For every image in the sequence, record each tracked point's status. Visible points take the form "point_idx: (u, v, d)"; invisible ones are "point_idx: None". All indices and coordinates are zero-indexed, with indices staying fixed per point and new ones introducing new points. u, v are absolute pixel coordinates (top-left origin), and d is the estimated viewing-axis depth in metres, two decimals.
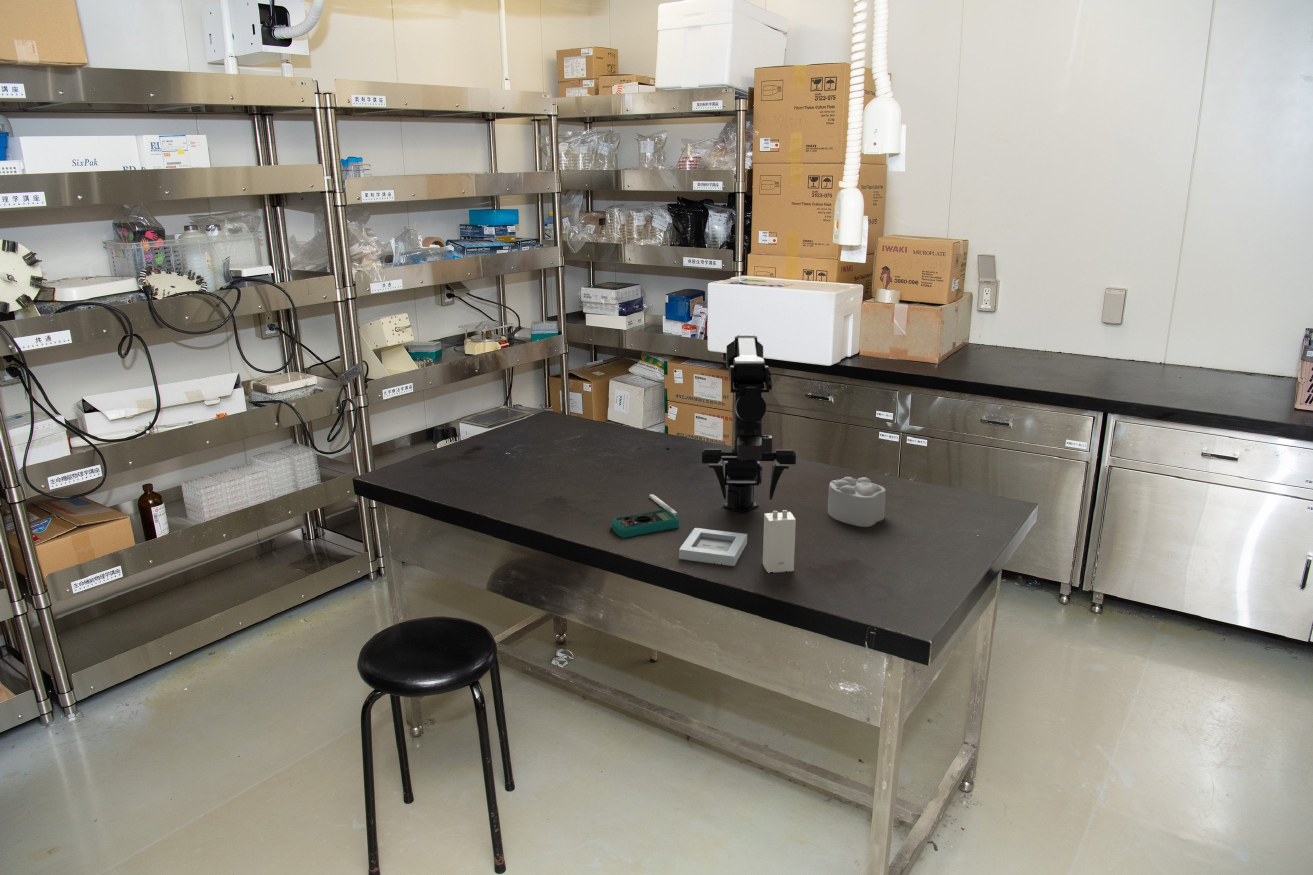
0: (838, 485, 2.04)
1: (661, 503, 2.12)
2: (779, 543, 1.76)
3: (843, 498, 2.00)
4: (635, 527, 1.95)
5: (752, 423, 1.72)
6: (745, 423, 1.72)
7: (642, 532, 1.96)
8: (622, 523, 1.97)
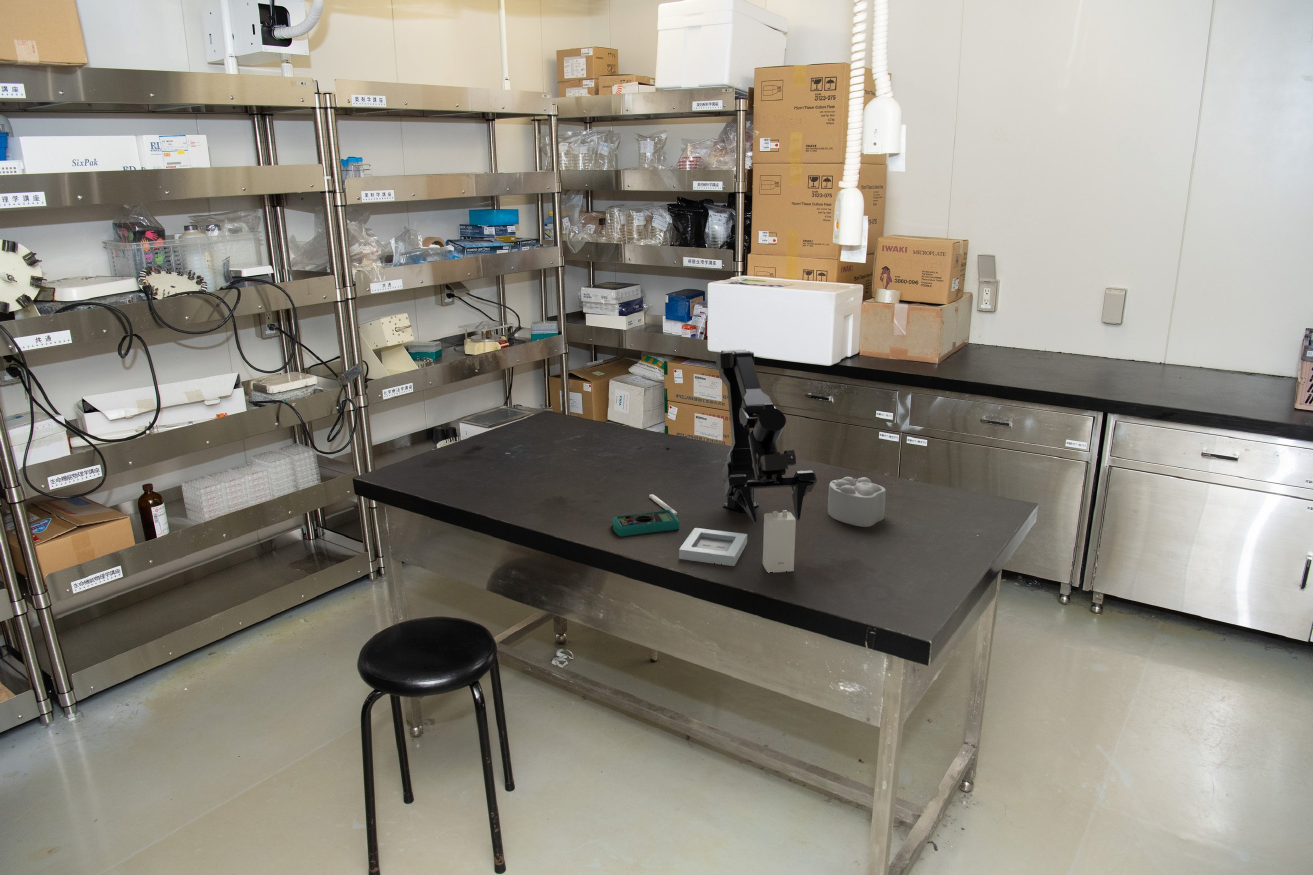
0: (838, 485, 2.04)
1: (661, 503, 2.12)
2: (779, 543, 1.76)
3: (843, 498, 2.00)
4: (632, 526, 1.96)
5: (770, 448, 1.83)
6: (764, 449, 1.83)
7: (640, 532, 1.96)
8: (621, 522, 1.98)
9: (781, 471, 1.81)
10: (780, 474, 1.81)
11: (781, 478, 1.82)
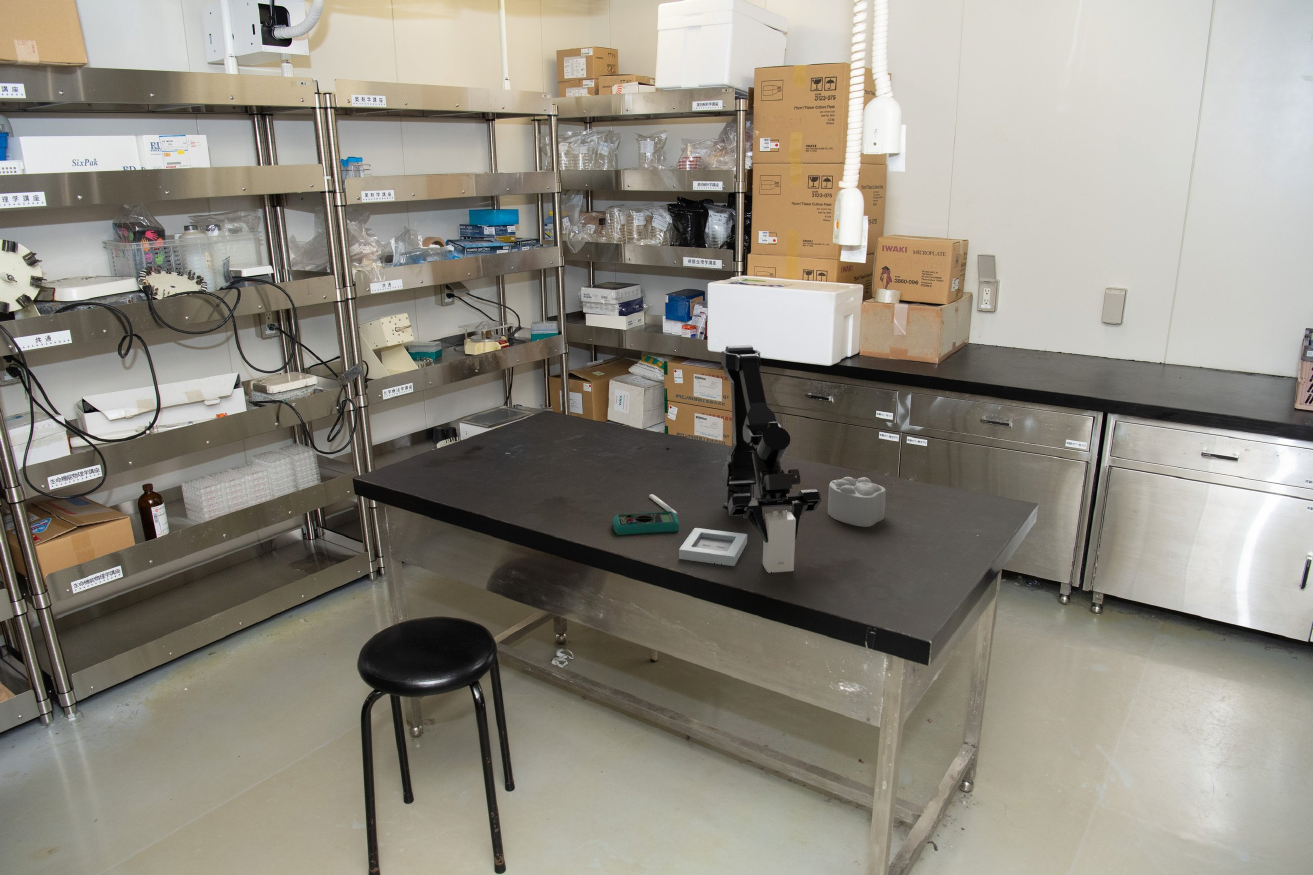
0: (838, 485, 2.04)
1: (661, 503, 2.12)
2: (779, 543, 1.75)
3: (843, 498, 2.00)
4: (630, 525, 1.96)
5: (774, 467, 1.81)
6: (768, 467, 1.81)
7: (638, 531, 1.96)
8: (620, 521, 1.99)
9: (785, 490, 1.78)
10: (784, 493, 1.79)
11: (785, 497, 1.80)
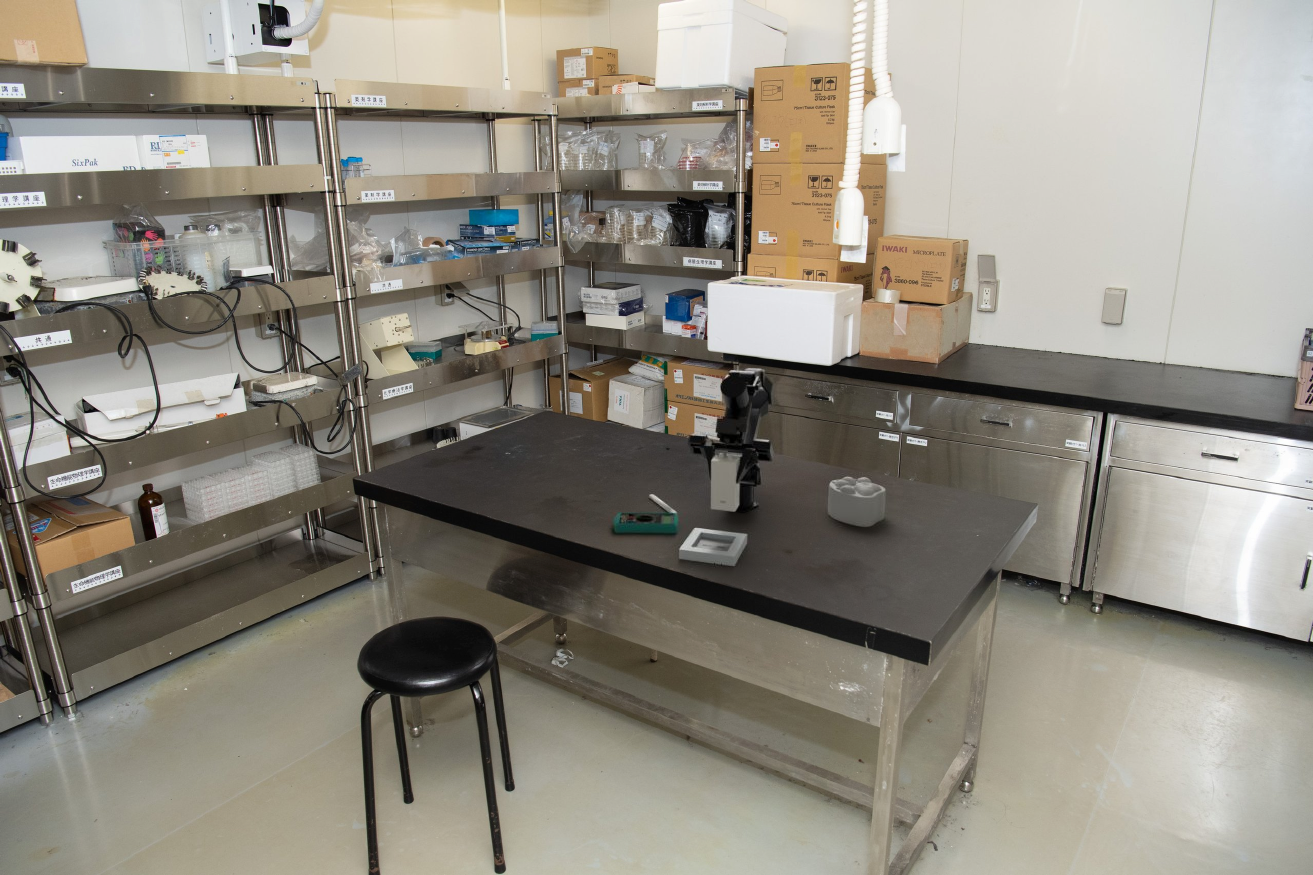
0: (838, 485, 2.04)
1: (661, 503, 2.12)
2: (721, 482, 1.90)
3: (843, 498, 2.00)
4: (628, 524, 1.97)
5: (736, 414, 1.94)
6: (731, 414, 1.95)
7: (636, 531, 1.97)
8: (621, 519, 2.00)
9: (738, 436, 1.91)
10: (738, 439, 1.92)
11: (741, 444, 1.93)
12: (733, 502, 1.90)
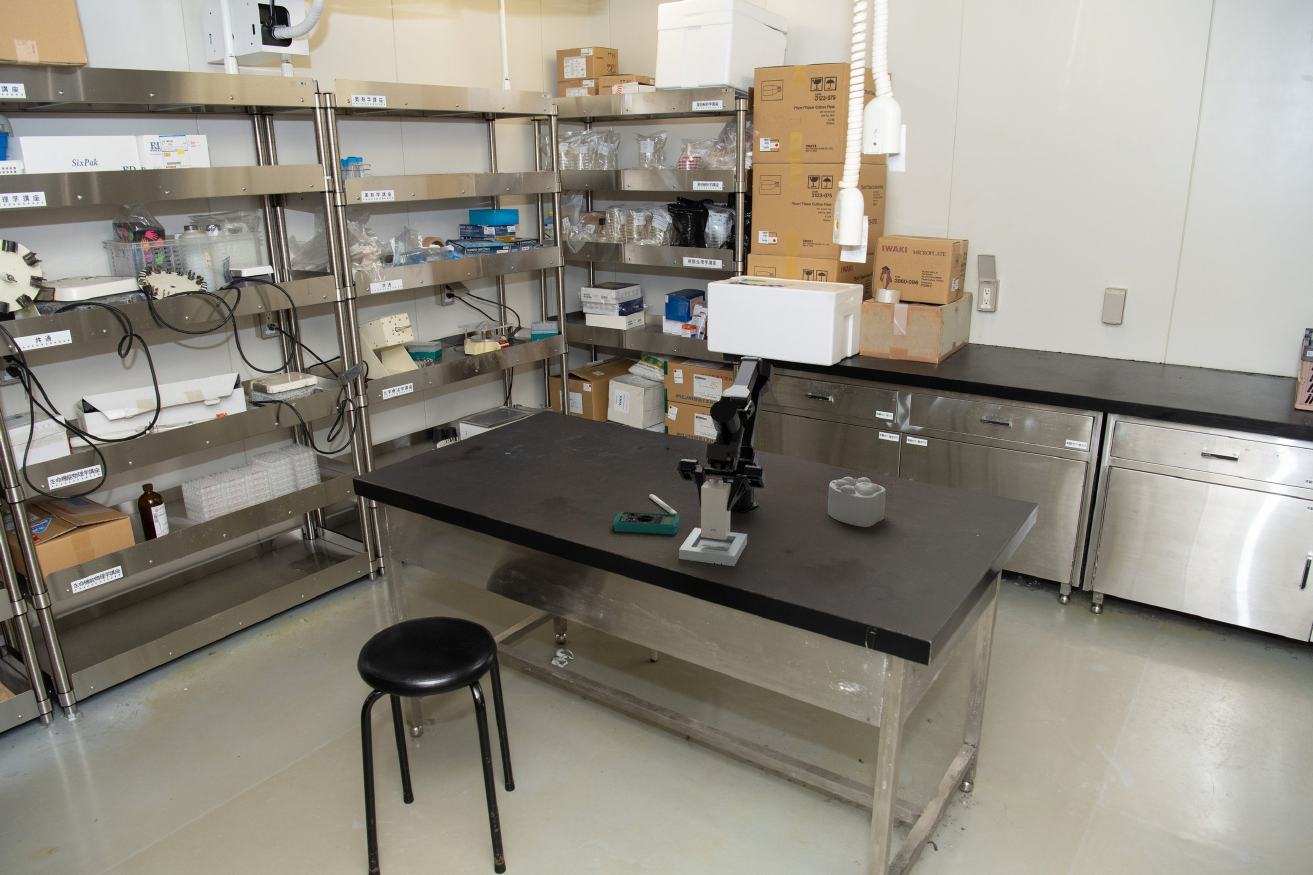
0: (838, 485, 2.04)
1: (661, 503, 2.12)
2: (711, 510, 1.84)
3: (843, 498, 2.00)
4: (627, 523, 1.97)
5: (728, 439, 1.89)
6: (722, 439, 1.89)
7: (634, 530, 1.97)
8: (621, 518, 2.00)
9: (729, 462, 1.85)
10: (729, 465, 1.86)
11: (733, 470, 1.87)
12: (724, 530, 1.84)
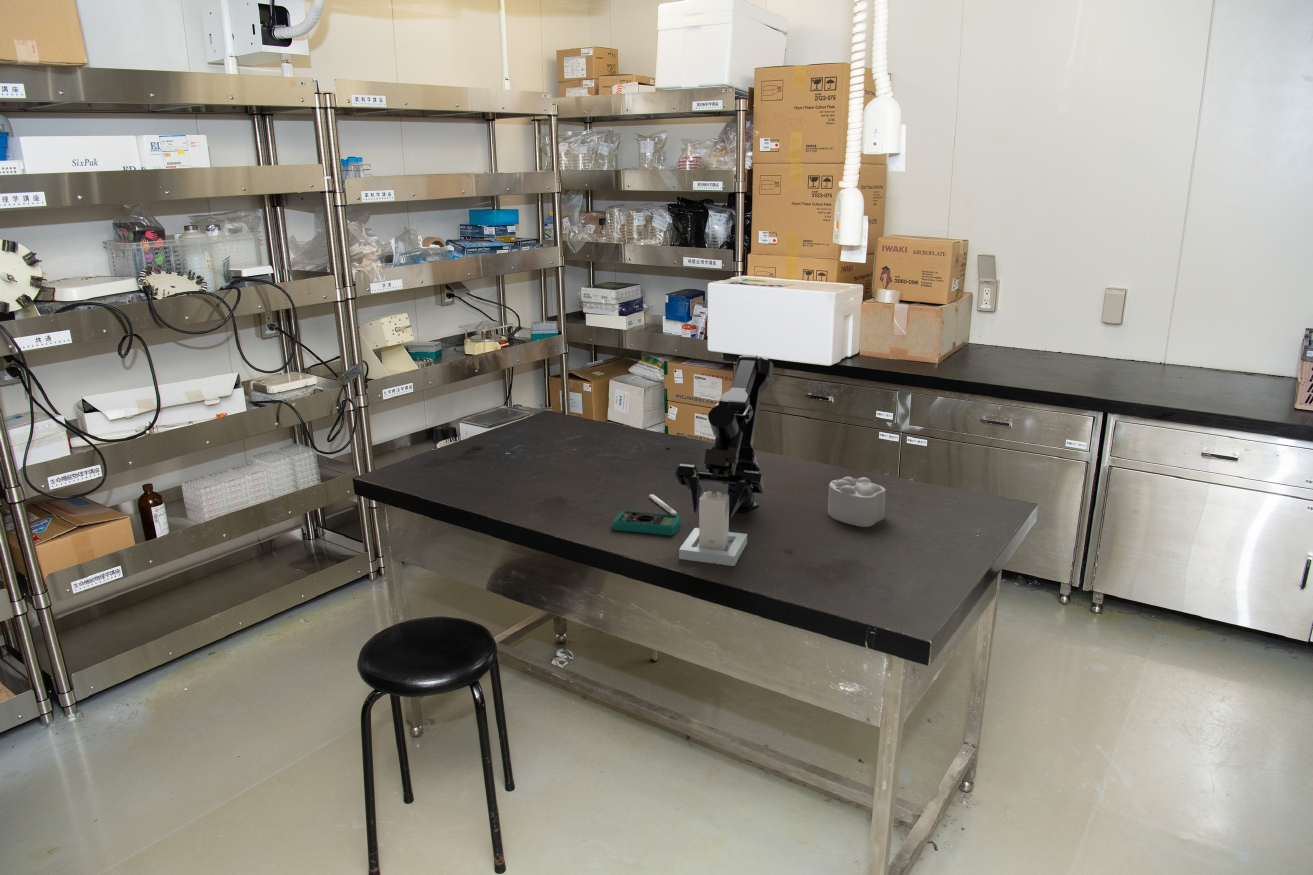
0: (838, 485, 2.04)
1: (661, 503, 2.12)
2: (709, 521, 1.83)
3: (843, 498, 2.00)
4: (626, 523, 1.98)
5: (726, 444, 1.87)
6: (720, 444, 1.88)
7: (633, 530, 1.97)
8: (622, 517, 2.01)
9: (727, 467, 1.84)
10: (727, 470, 1.85)
11: (731, 475, 1.86)
12: (722, 542, 1.84)
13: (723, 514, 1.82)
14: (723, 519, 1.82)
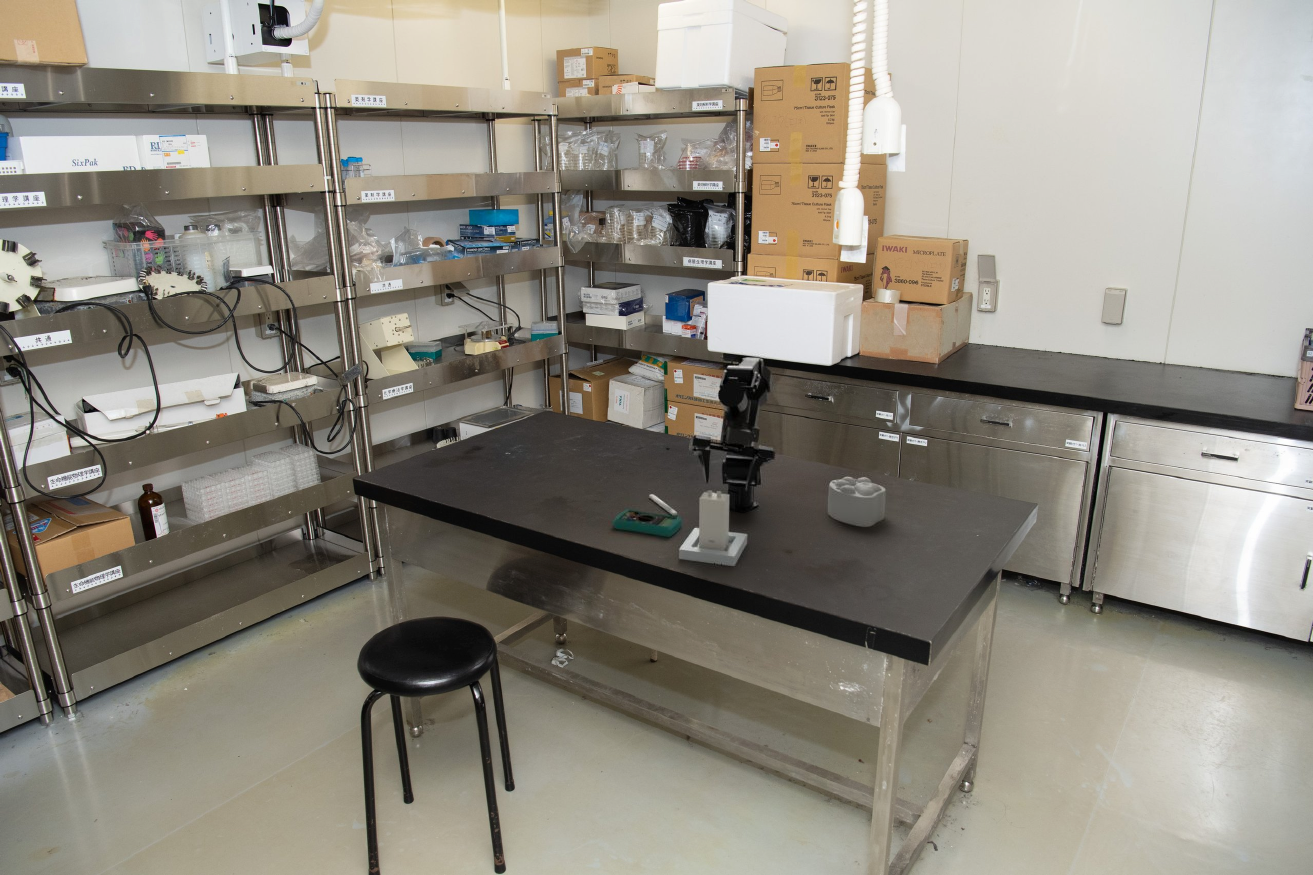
0: (838, 485, 2.04)
1: (661, 503, 2.12)
2: (710, 521, 1.83)
3: (843, 498, 2.00)
4: (626, 522, 1.98)
5: (740, 418, 1.93)
6: (735, 417, 1.93)
7: (632, 529, 1.98)
8: (623, 515, 2.02)
9: None
10: (742, 445, 1.92)
11: (743, 448, 1.94)
12: (722, 541, 1.84)
13: (723, 514, 1.82)
14: (723, 519, 1.82)
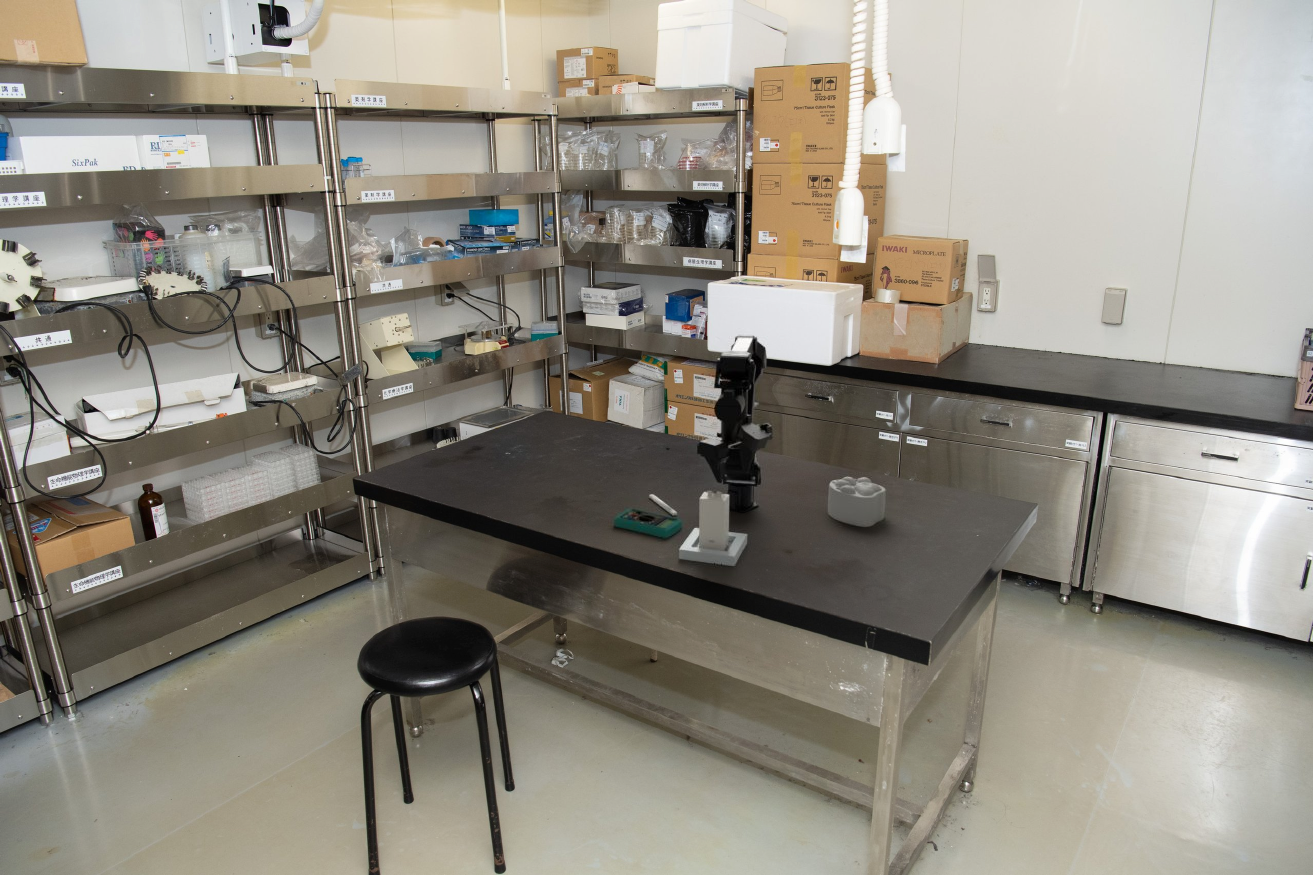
0: (838, 485, 2.04)
1: (661, 503, 2.12)
2: (710, 521, 1.83)
3: (843, 498, 2.00)
4: (626, 520, 1.99)
5: (745, 413, 1.88)
6: (741, 414, 1.87)
7: (631, 528, 1.98)
8: (625, 514, 2.02)
9: None
10: None
11: None
12: (722, 541, 1.84)
13: (723, 514, 1.82)
14: (723, 519, 1.82)
